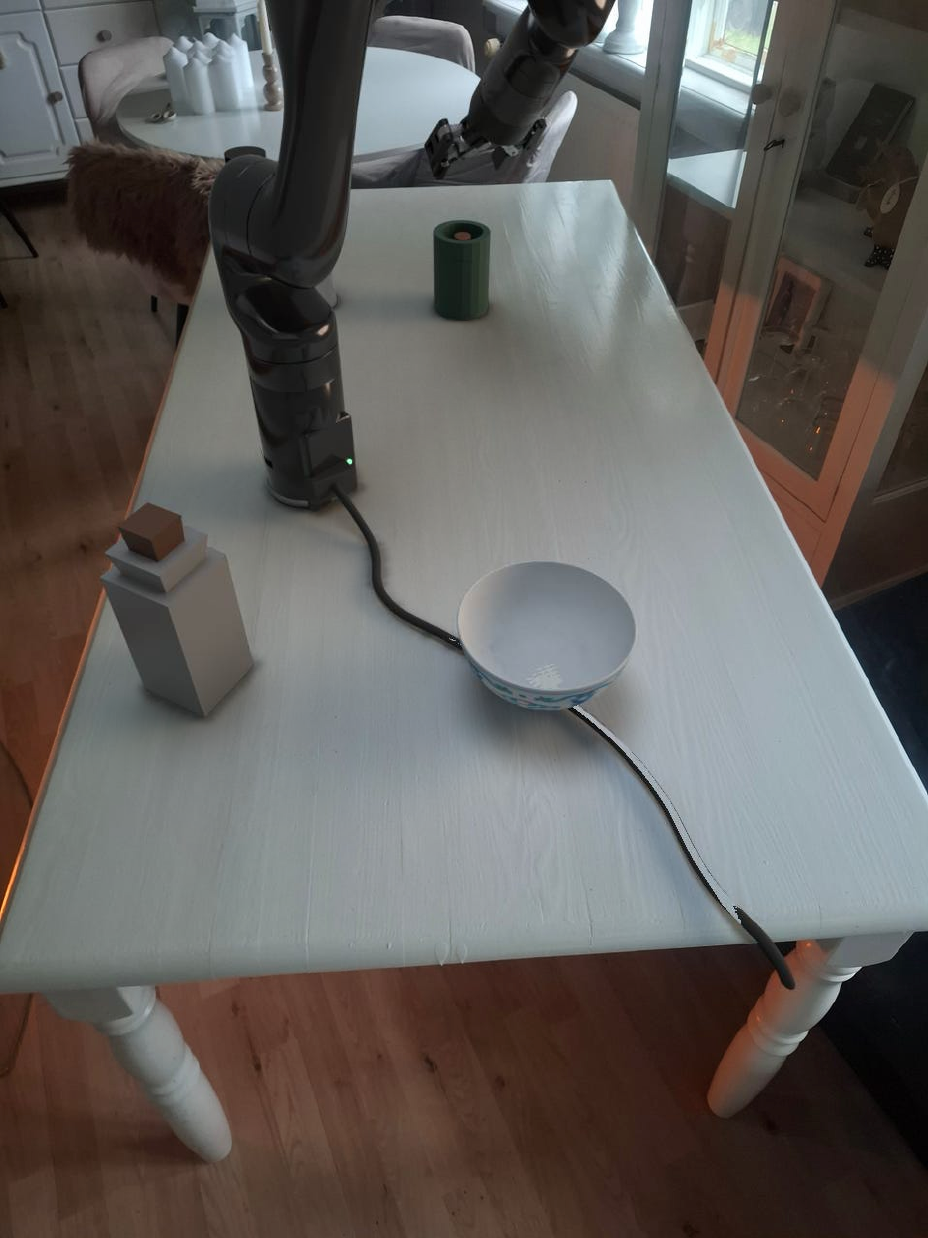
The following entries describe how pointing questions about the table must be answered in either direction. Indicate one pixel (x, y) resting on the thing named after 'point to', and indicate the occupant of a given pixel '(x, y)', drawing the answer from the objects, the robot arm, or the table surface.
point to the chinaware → (546, 632)
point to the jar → (461, 270)
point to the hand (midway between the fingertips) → (466, 167)
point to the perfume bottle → (177, 609)
